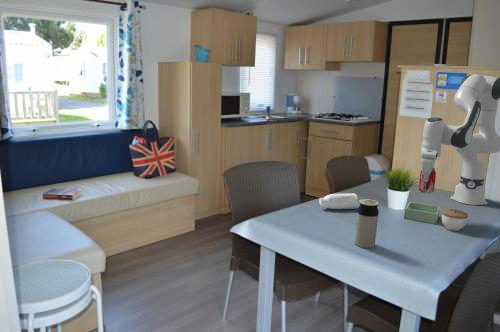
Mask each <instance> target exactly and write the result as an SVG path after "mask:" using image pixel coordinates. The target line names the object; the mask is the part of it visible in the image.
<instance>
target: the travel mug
mask: <svg viewBox="0 0 500 332" xmlns="http://www.w3.org/2000/svg"><path fill="white" fill-rule="evenodd" d="M358 203H359V206H357V213H356V224H355V235H354V242H353V243H354V244H355V246H358V247H361V248H363V249H371V248H374V247H375V245H376V239H377V229H378V228H377V227H378V220H379V208H378V206H379V205H380V203H379V201H377V200H374V199H369V198H367V199H366V198H364V199H362V198H361V199H360V200H358Z"/></svg>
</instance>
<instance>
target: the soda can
mask: <svg viewBox="0 0 500 332" xmlns="http://www.w3.org/2000/svg"><path fill="white" fill-rule="evenodd" d="M436 177H437V172H436V168H435V167H434V168H433V169H432V172H431V173H430V174H429V179H428V182H424V174H423V173H422V169H421V170H420V173H419V180H418V191H419V192H420V193H422V194H428V195H429V194H432V193H434V191H435V185H436V180H437V179H436Z"/></svg>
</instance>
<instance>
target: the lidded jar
mask: <svg viewBox="0 0 500 332" xmlns="http://www.w3.org/2000/svg"><path fill="white" fill-rule="evenodd" d="M468 216H469V214H468V213H467V212H465V211H463V210H458V209H456V208H453V209H452V208H445V209H442V210H441V223H442V225H443V226H444V228H445V229H446V230H448V231H452V232H459V231H460V230H462V229H463V228H464V227H465V226H466V224H467V221H468Z"/></svg>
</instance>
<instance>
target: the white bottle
mask: <svg viewBox="0 0 500 332" xmlns="http://www.w3.org/2000/svg"><path fill="white" fill-rule="evenodd" d="M358 203H359V200H358V196H357V194H356V193H355V192H354V193H331V194H328V195H326V196H324V197H320V198H319V200H318V204H319V205H320V207H321V208H323V207H325V208H326V209H330V210H352V209H353V210H355V209H357V208H358Z"/></svg>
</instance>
